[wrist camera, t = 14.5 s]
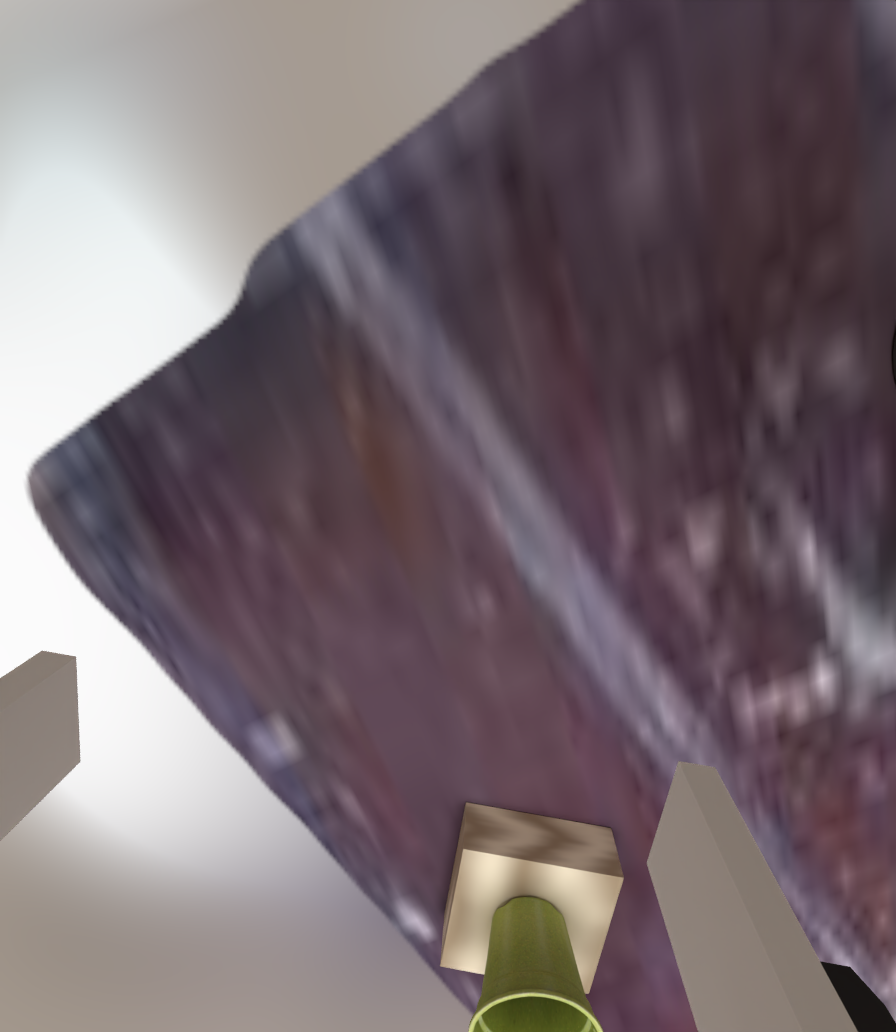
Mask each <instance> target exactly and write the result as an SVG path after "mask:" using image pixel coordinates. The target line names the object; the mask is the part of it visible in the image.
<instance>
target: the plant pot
mask: <svg viewBox="0 0 896 1032" xmlns="http://www.w3.org/2000/svg"><path fill="white" fill-rule="evenodd" d="M468 1032H603V1029H602V1027H601V1025H600V1023H599V1021H598V1019H597V1018H596V1016H595V1015H594V1014H593V1011H592V1008H591V1006H590V1004H589V1002H588V1000H587V999H586V996H585V993H584V989H583V986H582V982H581V978H580V975H579V971H578V968H577V964H576V960H575V957H574V953H573V949H572V946H571V942H570V938H569V934H568V931H567V927H566V923H565V920H564V917H563V915H562V914H561V913H559V912H558V911H557V910H556V909H555V908H554V907H553V906H552V905H551V904H550V903H549V902H547V901H545V900H542V899H539V898H533V897H519V898H515V899H512V900H511V901H510V902H509V903H507V904H506V905H505V906H503V907H501V908H498V909H497V910H496V912H495V913H494V916H493V918H492V924H491V932H490V939H489V947H488V954H487V961H486V967H485V974H484V981H483V988H482V994H481V997H480V999H479V1002H478V1005H477V1010H476V1012H475V1014H474V1015H473V1017H472V1019H471V1021H470V1024H469V1030H468Z"/></svg>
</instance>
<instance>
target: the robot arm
mask: <svg viewBox="0 0 896 1032" xmlns="http://www.w3.org/2000/svg"><path fill="white" fill-rule="evenodd" d="M893 366H894V375H895V380H896V335H895V341H894V350H893ZM79 744H80V742H79V719H78V693H77V669H76V657H75V656H69V655H64V654H58V653H52V652H46V651H41V652H39V653H38V654H36V655H35V656H33V657H32V658H31V659H29V660H27V661H26V662H24V663H23V664H21V665H20V666H18V667H17V668H15V669H14V670H12V671H11V672H9V673H8V674H6V675H5V676H3V677H1V678H0V841H1V840H2V839H3V838H4V837H5V836H6V835H7V834H8V833H9V832H10V831H11V830H12V829H13V828H14V827H15V826H16V825H17V824H18V823H19V822H20V821H21V820H22V819H23V818H24V817H25V816H26V815H27V814H28V813H29V812H30V811H31V810H32V809H33V808H34V807H35V806H36V805H37V804H38V803H39V802H40V801H41V800H42V799H43V798H44V797H45V796H46V795H47V794H48V793H49V792H50V791H51V790H52V789H53V788H54V787H55V786H56V785H57V784H58V783H59V782H60V781H61V780H62V779H63V778H64V777H65V776H66V775H67V774H68V773H69V772H70V771H71V770H72V769H73V768H74V767H75V766H76V765H77V764H78V763H79V762H80V745H79ZM647 866H648V869H649V872H650V875H651V879H652V882H653V885H654V888H655V892H656V895H657V898H658V902H659V905H660V908H661V911H662V915H663V918H664V921H665V924H666V928H667V931H668V934H669V938H670V941H671V944H672V947H673V951H674V954H675V957H676V961H677V964H678V967H679V970H680V974H681V977H682V980H683V983H684V987H685V990H686V993H687V997H688V1000H689V1003H690V1006H691V1010H692V1013H693V1016H694V1019H695V1023H696V1026H697V1029H698V1032H896V1023H895V1021H894V1020H893V1018H892V1016H891V1015H890V1013H889V1011H888V1010H887V1008H886V1006H885V1005H884V1004H883V1003H882V1002H881V1001H880V999H879V998H878V997H877V996H876V995H875V994H874V993H873V992H872V991H871V990H870V988H869V987H868V986H867V985H866V984H865V983H864V982H863V981H862V980H861V979H860V977H859V976H858V975H857V974H856V973H855V972H854V971H853V970H852V969H851V968H850V967H848V966H842V965H837V964H831V963H826V962H820V961H819V959H818V957H817V955H816V953H815V952H814V950H813V948H812V946H811V944H810V942H809V940H808V939H807V937H806V935H805V933H804V931H803V929H802V927H801V926H800V924H799V922H798V920H797V918H796V916H795V915H794V913H793V911H792V909H791V907H790V905H789V903H788V902H787V900H786V898H785V896H784V894H783V892H782V891H781V889H780V887H779V885H778V883H777V881H776V879H775V878H774V876H773V874H772V872H771V870H770V868H769V866H768V865H767V863H766V861H765V859H764V857H763V855H762V854H761V852H760V850H759V848H758V846H757V844H756V842H755V841H754V839H753V837H752V835H751V833H750V831H749V829H748V828H747V826H746V824H745V822H744V820H743V818H742V817H741V815H740V813H739V811H738V809H737V807H736V805H735V804H734V802H733V800H732V798H731V796H730V794H729V793H728V791H727V789H726V787H725V785H724V783H723V781H722V780H721V778H720V776H719V774H718V772H717V770H716V768H715V767H709V766H703V765H697V764H692V763H686V762H680V761H679V762H678V765H677V768H676V771H675V775H674V778H673V781H672V784H671V787H670V791H669V794H668V797H667V800H666V803H665V806H664V810H663V813H662V816H661V819H660V822H659V826H658V829H657V832H656V835H655V838H654V842H653V845H652V848H651V851H650V854H649V858H648V861H647Z"/></svg>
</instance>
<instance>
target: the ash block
mask: <svg viewBox="0 0 896 1032" xmlns="http://www.w3.org/2000/svg"><path fill="white" fill-rule="evenodd" d="M623 879H624V877H623V873H622V869H621V865H620V861H619V857H618V853H617V849H616V845H615V841H614V838H613V834H612V830H611V828H607V827H602V826H596V825H590V824H585V823H579V822H574V821H568V820H562V819H557V818H551V817H545V816H540V815H534V814H529V813H523V812H517V811H512V810H506V809H501V808H495V807H489V806H484V805H478V804H473V803H467V802H466V805H465V810H464V815H463V821H462V826H461V831H460V836H459V841H458V846H457V852H456V857H455V862H454V867H453V872H452V878H451V883H450V888H449V893H448V898H447V903H446V909H445V916H444V928H443V940H442V952H441V964H440V966H442V967H447V968H452V969H458V970H463V971H469V972H474V973H479V974H485V967H486V961H487V954H488V947H489V939H490V932H491V924H492V918H493V916H494V913H495V912H496V910H497V909H498V908H501V907H503V906H505V905H506V904H507V903H509V902H510V901H511V900H512V899H515V898H519V897H533V898H539V899H542V900H545V901H547V902H549V903H550V904H551V905H552V906H553V907H554V908H555V909H556V910H557V911H558V912H559V913H561V914H562V915H563V917H564V920H565V923H566V927H567V931H568V934H569V938H570V942H571V946H572V949H573V953H574V957H575V960H576V964H577V968H578V971H579V975H580V978H581V982H582V986H583V989H584V993H586V994H589V991H590V988H591V984H592V981H593V978H594V974H595V971H596V968H597V965H598V961H599V958H600V955H601V951H602V948H603V945H604V941H605V938H606V935H607V932H608V928H609V925H610V922H611V918H612V915H613V912H614V908H615V905H616V902H617V898H618V895H619V892H620V889H621V885H622V882H623Z"/></svg>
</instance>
